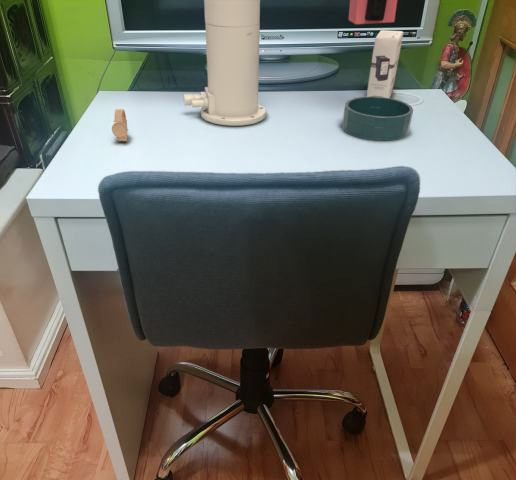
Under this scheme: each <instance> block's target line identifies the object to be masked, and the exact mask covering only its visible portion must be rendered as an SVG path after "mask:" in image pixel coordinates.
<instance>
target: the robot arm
mask: <svg viewBox="0 0 516 480" xmlns="http://www.w3.org/2000/svg"><path fill="white" fill-rule="evenodd" d="M386 3H387V0H368V1H367V7H366V14H365V19H366V20H367V21H382V20H383V19H384V14H385V9H386ZM203 5H204V23H205V46H206V50H205V51H206V72H207V86H205V87H204V91H200V92H199V93H197V94H196V93H195V94H194V93H184V94H183V103H184V106H191V108H200V116H201V118H202V119H203V120H205V121H206V122H208V123H211V124H215V125H220V126H230V127H238V126H239V127H240V126H249V125H254V124H257V123H260V122H262V121H263V120H264V119H266V117H267V109H266V108H265V106H263V105H262V104H260V103H259V85H260V84H259V78H260V77H259V76H260V36H261V35H260V32H261V31H260V30H261V29H260V28H261V21H260V20H261V19H260V17H261V0H203Z"/></svg>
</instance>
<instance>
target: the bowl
mask: <svg viewBox="0 0 516 480" xmlns="http://www.w3.org/2000/svg"><path fill="white" fill-rule="evenodd" d="M343 110H344V111H343V116H342V127H341V128H342V130H343V131H344V132H345V133H347V134H348V135H350V136H352V137H356V138H358V139H363V140H367V141H376V142H377V141H378V142H389V141H396V140H400V139H403V138H405V137H407V135H409V130H410V128H411V123H412V118H413V114H414V108H413V106H411V105H410V104H409V103H407V102H405V101H402V100H401V99H396V98H392V97H390V98H385V97H373V96H368V97H367V96H359V97H354V98H350V99H348V100H347V101H346V102H345V103H344V109H343Z"/></svg>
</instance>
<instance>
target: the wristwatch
mask: <svg viewBox="0 0 516 480" xmlns="http://www.w3.org/2000/svg"><path fill="white" fill-rule="evenodd" d="M113 122H114V123H113V124H112V126H111V133H112V134H113V135H114V136H115V137H116V140H117V141H118V142H127V141H128V135H129V132H128V131H129V128H128V120H127V115H126V111H125V109H123V108H122V109H118V108H116V109H115V110H114V120H113Z"/></svg>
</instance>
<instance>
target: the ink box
mask: <svg viewBox="0 0 516 480" xmlns="http://www.w3.org/2000/svg"><path fill="white" fill-rule="evenodd" d="M403 37H404V31H402V30H386V29H384V30H383V29H381V30H380V31H379V32H378V33H377V35H375V37H374V42H373V43H374V44H373V50H372V56H371V61H370V62H371V63H370V70H369V76H368V84H367V91H366V97H368V96H373V97H385V98H391V96H392V94H393V91H394V86H395V81H396V75H397V70H398V64H399V59H400V54H401V49H402V43H403Z"/></svg>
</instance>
